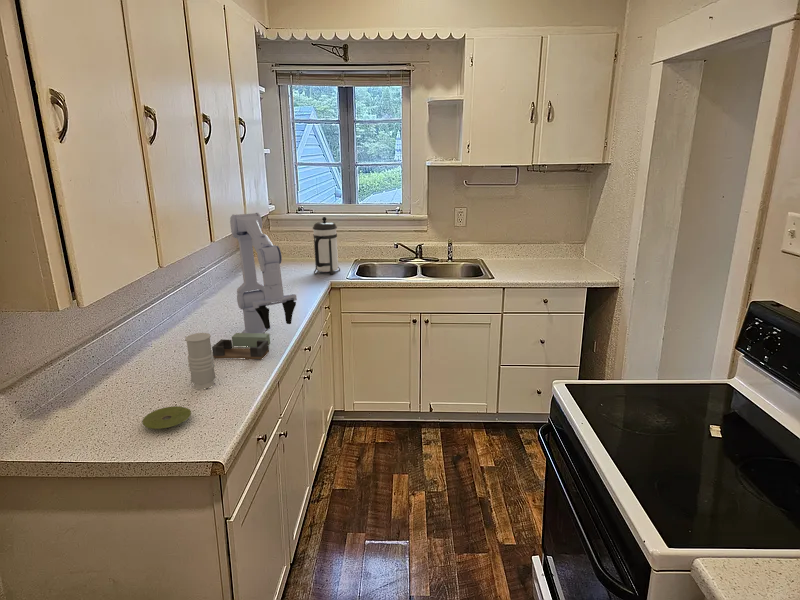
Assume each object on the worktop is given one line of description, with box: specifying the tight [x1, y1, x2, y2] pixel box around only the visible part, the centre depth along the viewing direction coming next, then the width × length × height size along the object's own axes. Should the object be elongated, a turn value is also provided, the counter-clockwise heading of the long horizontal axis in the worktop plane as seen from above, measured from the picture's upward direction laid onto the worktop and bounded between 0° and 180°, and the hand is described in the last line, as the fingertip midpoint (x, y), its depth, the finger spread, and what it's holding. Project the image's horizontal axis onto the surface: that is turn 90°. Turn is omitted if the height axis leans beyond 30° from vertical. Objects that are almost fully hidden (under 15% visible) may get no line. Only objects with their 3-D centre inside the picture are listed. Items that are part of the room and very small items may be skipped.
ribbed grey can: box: [184, 332, 217, 390], centre depth 152 cm, size 7×7×15 cm
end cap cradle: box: [211, 339, 270, 360], centre depth 175 cm, size 7×16×4 cm, turn 84°
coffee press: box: [312, 216, 341, 276], centre depth 282 cm, size 17×16×30 cm
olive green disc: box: [142, 405, 192, 430], centre depth 133 cm, size 11×11×2 cm
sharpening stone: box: [231, 332, 271, 348], centre depth 184 cm, size 4×12×4 cm, turn 85°
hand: (278, 326), depth 171 cm, fingers open, 7 cm apart
